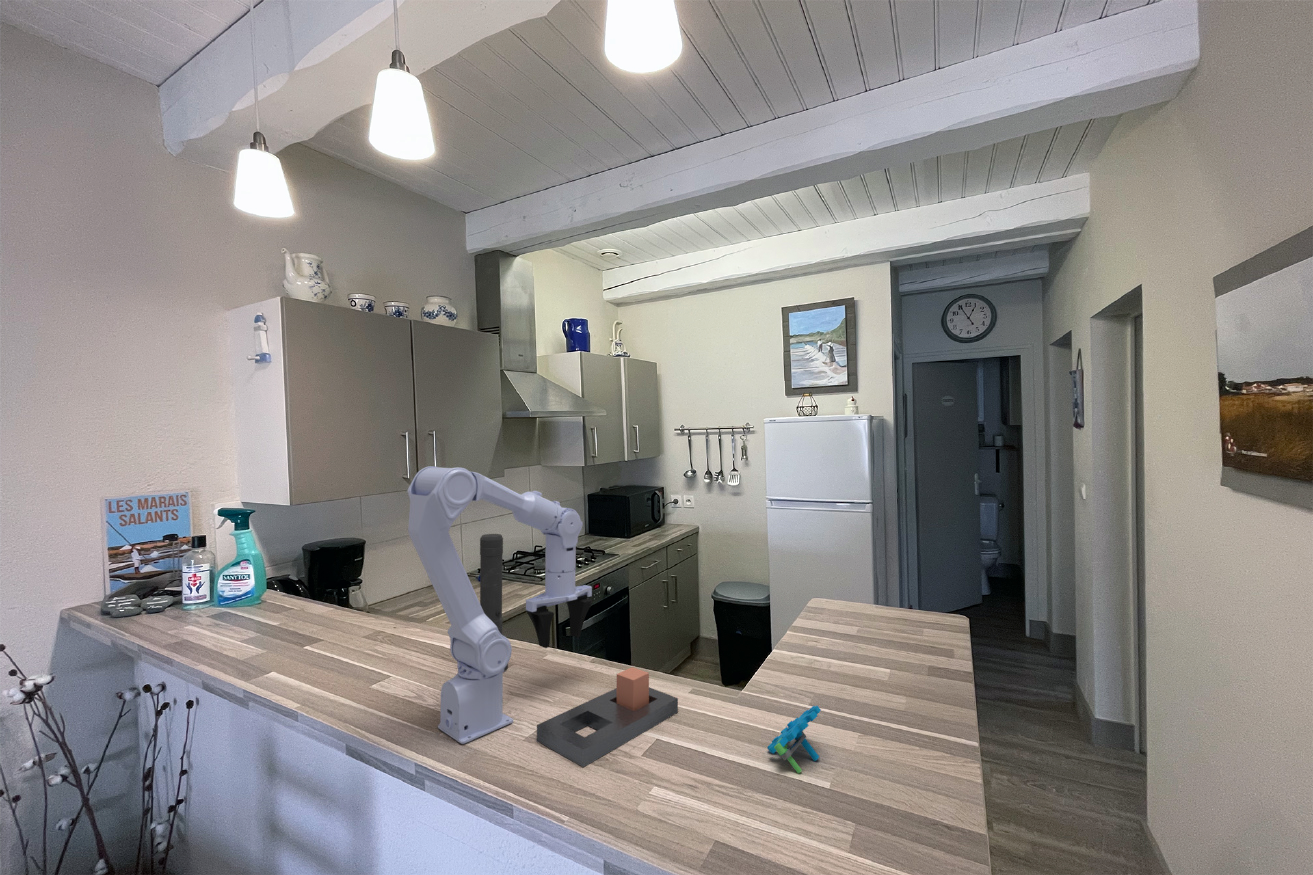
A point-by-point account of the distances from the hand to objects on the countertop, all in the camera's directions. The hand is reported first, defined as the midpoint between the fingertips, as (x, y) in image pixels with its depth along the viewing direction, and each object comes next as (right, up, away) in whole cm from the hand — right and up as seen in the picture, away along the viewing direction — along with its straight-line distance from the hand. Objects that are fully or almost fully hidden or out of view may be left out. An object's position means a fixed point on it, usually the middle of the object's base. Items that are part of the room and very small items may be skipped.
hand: (560, 640), depth 105 cm
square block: (+14, -9, -9) cm, 19 cm away
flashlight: (-16, -10, +10) cm, 21 cm away
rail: (+11, -9, -14) cm, 20 cm away
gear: (+39, -9, -22) cm, 46 cm away
